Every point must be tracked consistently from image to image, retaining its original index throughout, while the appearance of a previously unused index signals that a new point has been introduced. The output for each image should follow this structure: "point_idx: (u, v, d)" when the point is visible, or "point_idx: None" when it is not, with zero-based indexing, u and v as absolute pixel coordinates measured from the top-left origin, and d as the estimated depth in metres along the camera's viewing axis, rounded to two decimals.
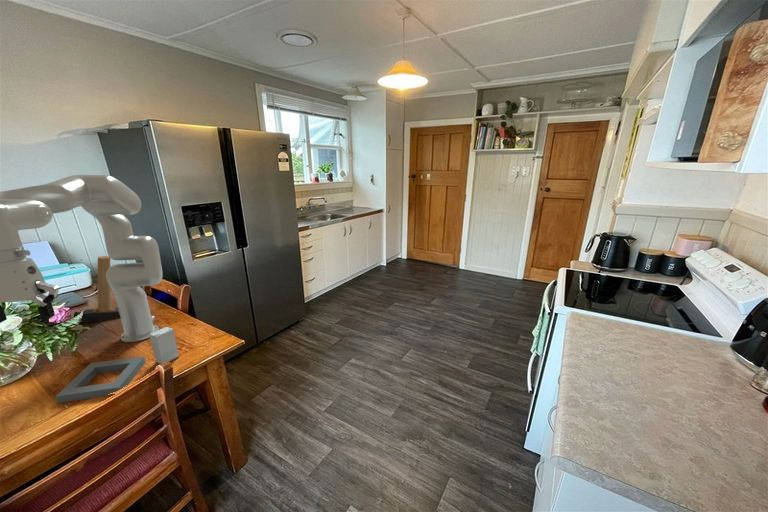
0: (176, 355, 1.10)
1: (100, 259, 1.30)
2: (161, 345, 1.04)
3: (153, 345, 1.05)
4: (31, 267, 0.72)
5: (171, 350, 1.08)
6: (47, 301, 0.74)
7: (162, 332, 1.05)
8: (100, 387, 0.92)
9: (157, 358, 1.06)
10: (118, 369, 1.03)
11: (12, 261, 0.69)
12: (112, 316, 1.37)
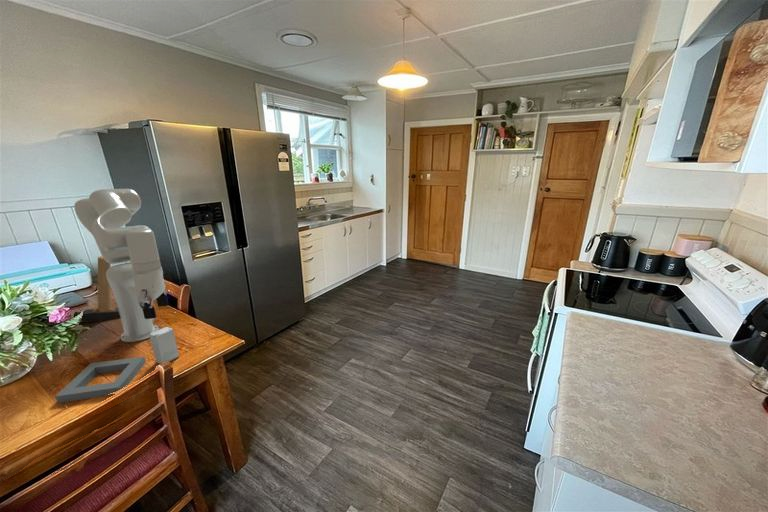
0: (176, 355, 1.10)
1: (100, 259, 1.30)
2: (161, 345, 1.04)
3: (153, 345, 1.05)
4: None
5: (171, 350, 1.08)
6: None
7: (162, 332, 1.05)
8: (100, 387, 0.92)
9: (157, 358, 1.06)
10: (118, 369, 1.03)
11: None
12: (112, 316, 1.37)
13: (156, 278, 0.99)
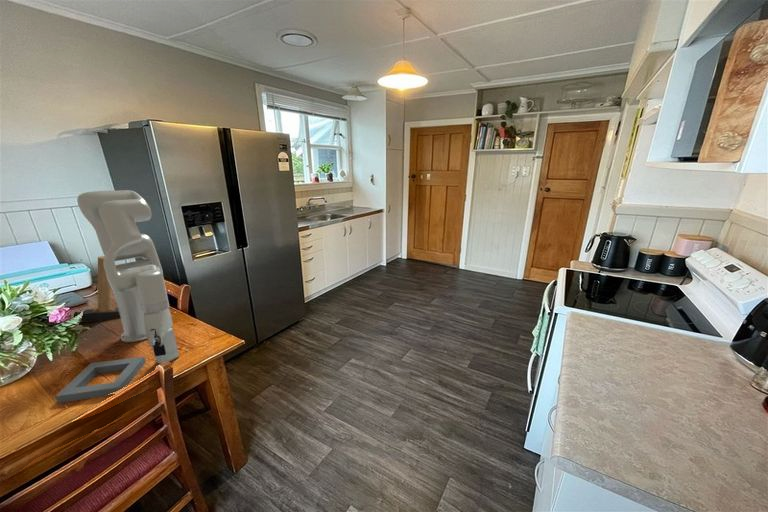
0: (176, 355, 1.10)
1: (100, 259, 1.30)
2: None
3: None
4: None
5: (172, 350, 1.08)
6: None
7: None
8: (100, 387, 0.92)
9: (157, 358, 1.06)
10: (118, 369, 1.03)
11: None
12: (112, 316, 1.37)
13: (164, 317, 1.03)
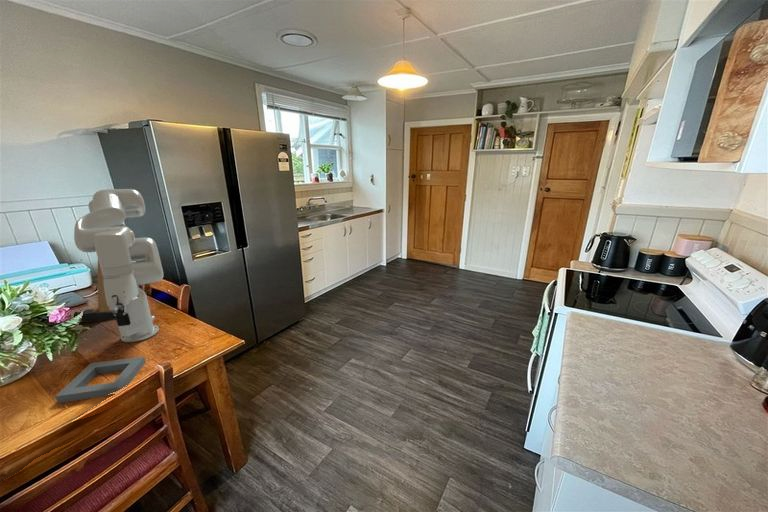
0: (143, 327, 1.01)
1: None
2: None
3: None
4: None
5: (138, 320, 0.99)
6: None
7: None
8: (100, 387, 0.92)
9: (121, 329, 0.97)
10: (118, 369, 1.03)
11: None
12: (112, 316, 1.37)
13: (128, 283, 0.94)
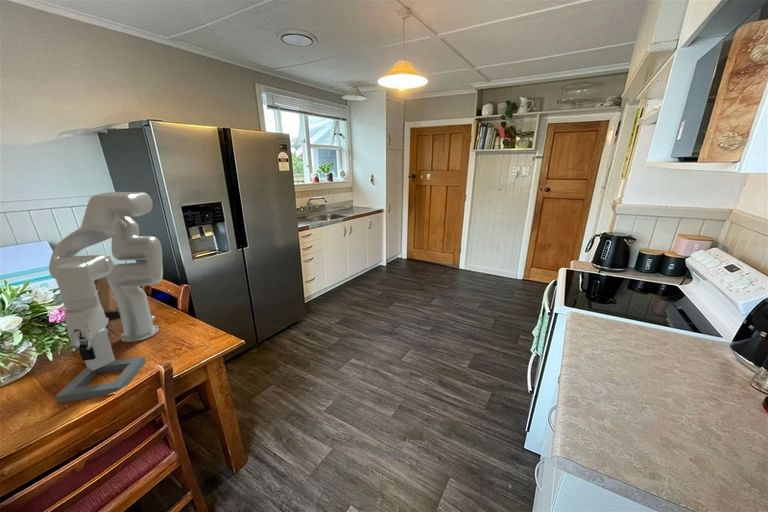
0: (111, 359, 0.97)
1: None
2: None
3: None
4: None
5: (105, 353, 0.95)
6: None
7: None
8: (100, 387, 0.92)
9: (87, 363, 0.93)
10: (118, 369, 1.03)
11: None
12: (112, 316, 1.37)
13: (93, 315, 0.90)
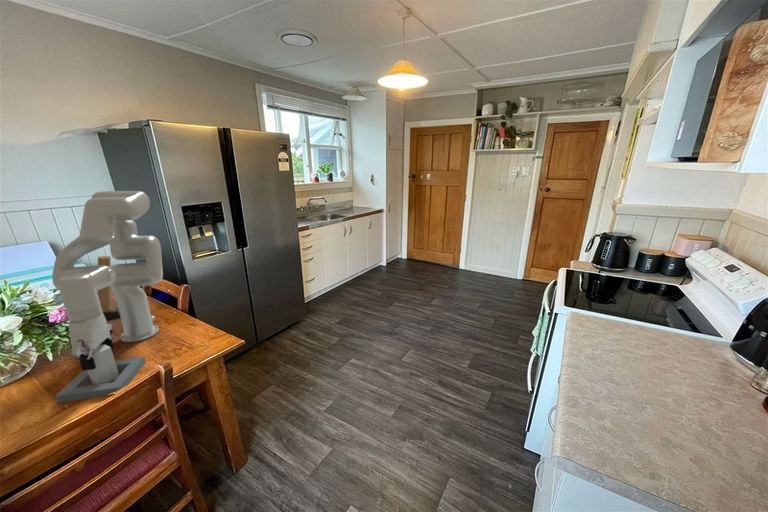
0: (116, 376, 0.99)
1: (100, 259, 1.30)
2: (96, 366, 0.93)
3: None
4: None
5: (109, 370, 0.97)
6: None
7: (97, 351, 0.93)
8: (100, 387, 0.92)
9: (92, 380, 0.95)
10: (118, 369, 1.03)
11: None
12: (112, 316, 1.37)
13: (96, 326, 0.91)
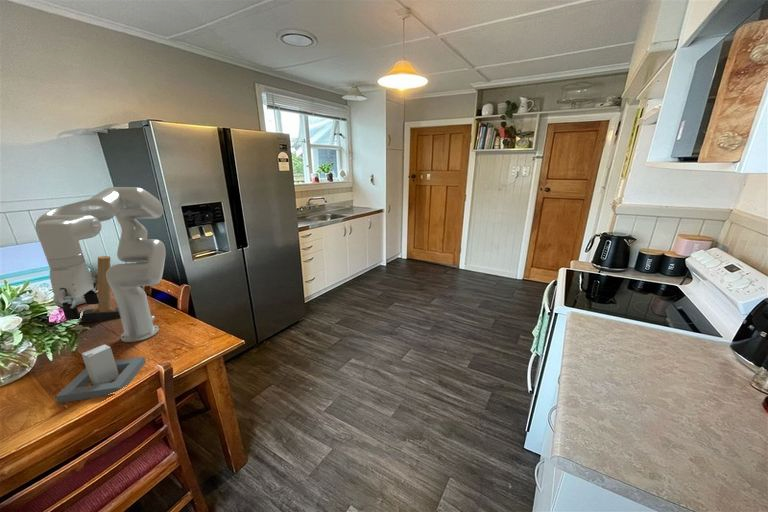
0: (116, 376, 0.99)
1: (100, 259, 1.30)
2: (96, 366, 0.93)
3: (86, 366, 0.93)
4: None
5: (109, 370, 0.97)
6: (94, 288, 0.98)
7: (97, 351, 0.93)
8: (100, 387, 0.92)
9: (92, 380, 0.95)
10: (118, 369, 1.03)
11: None
12: (112, 316, 1.37)
13: (78, 275, 0.89)
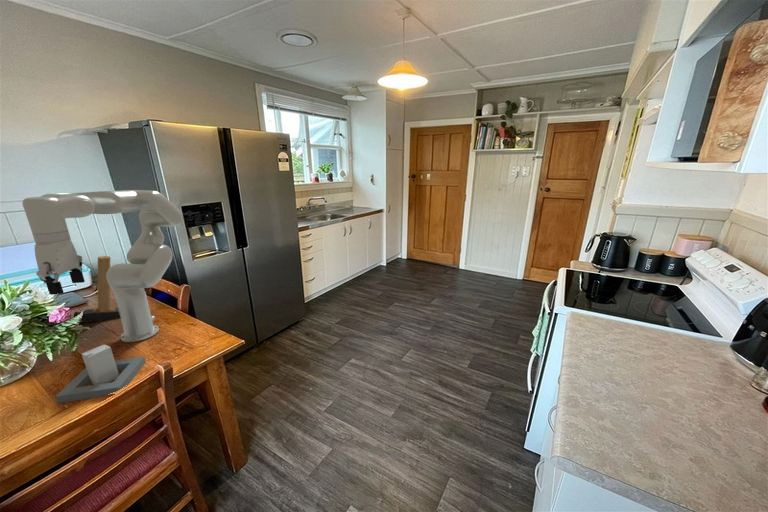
0: (116, 376, 0.99)
1: (100, 259, 1.30)
2: (96, 366, 0.93)
3: (86, 366, 0.93)
4: None
5: (109, 370, 0.97)
6: (80, 267, 1.01)
7: (97, 351, 0.93)
8: (100, 387, 0.92)
9: (92, 380, 0.95)
10: (118, 369, 1.03)
11: None
12: (112, 316, 1.37)
13: (63, 251, 0.92)
